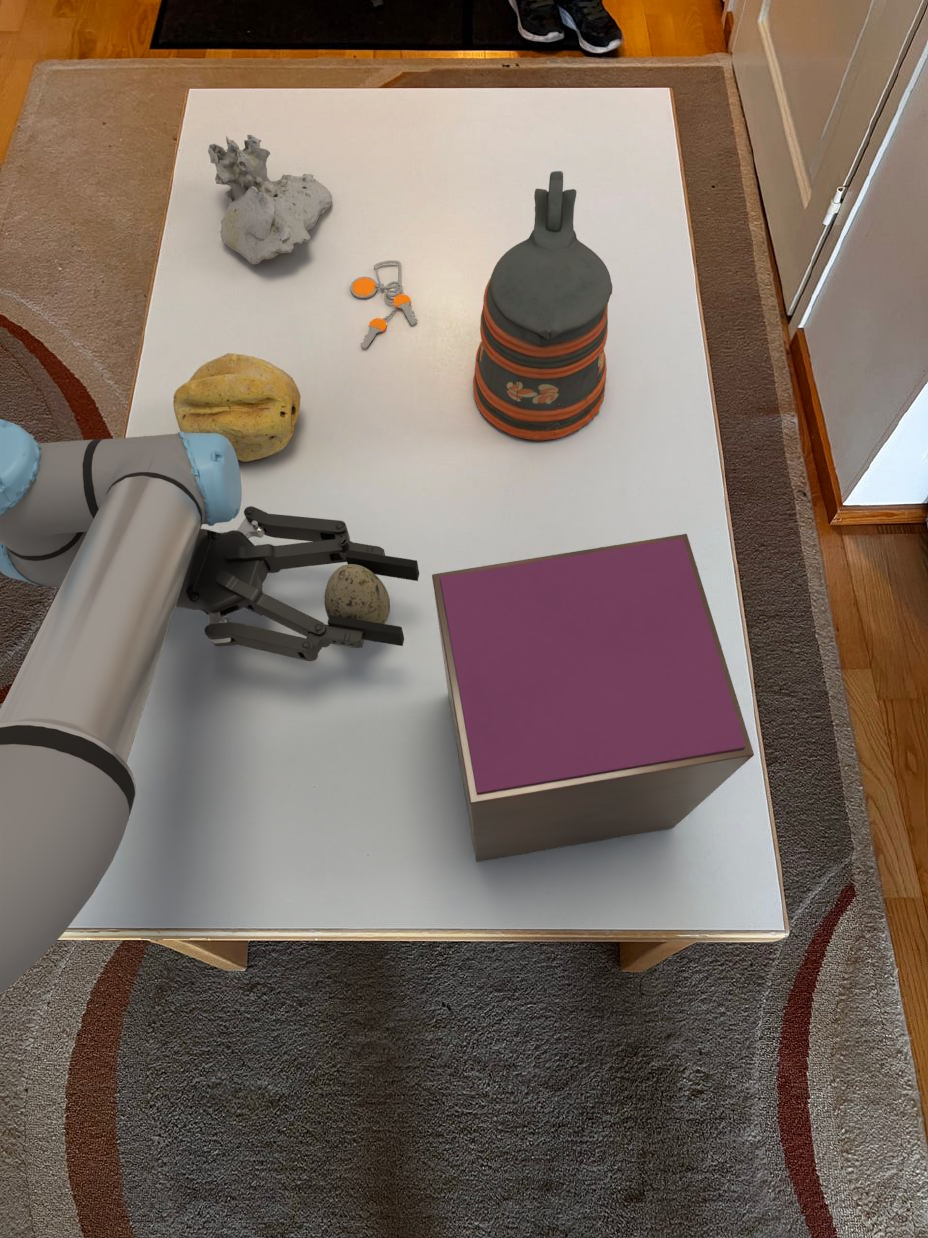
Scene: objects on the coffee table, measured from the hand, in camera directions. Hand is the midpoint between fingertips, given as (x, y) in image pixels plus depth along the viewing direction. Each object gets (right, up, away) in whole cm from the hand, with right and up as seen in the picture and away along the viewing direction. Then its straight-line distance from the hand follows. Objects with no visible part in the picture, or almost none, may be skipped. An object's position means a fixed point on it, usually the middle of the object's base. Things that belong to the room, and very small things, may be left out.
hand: (409, 603), depth 78 cm
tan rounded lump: (-19, +19, +18) cm, 33 cm away
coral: (-19, +47, +30) cm, 59 cm away
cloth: (+13, -4, -21) cm, 25 cm away
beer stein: (+13, +26, +21) cm, 36 cm away
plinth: (+14, -14, +3) cm, 20 cm away
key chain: (-5, +36, +25) cm, 44 cm away
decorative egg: (-5, -2, +6) cm, 8 cm away
